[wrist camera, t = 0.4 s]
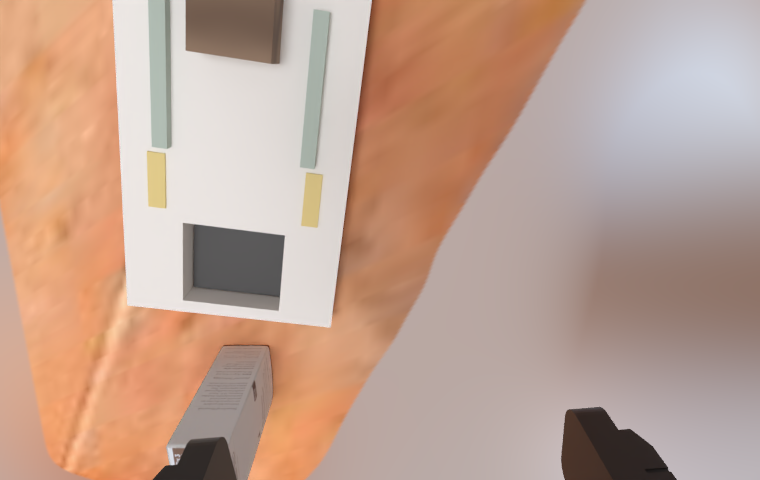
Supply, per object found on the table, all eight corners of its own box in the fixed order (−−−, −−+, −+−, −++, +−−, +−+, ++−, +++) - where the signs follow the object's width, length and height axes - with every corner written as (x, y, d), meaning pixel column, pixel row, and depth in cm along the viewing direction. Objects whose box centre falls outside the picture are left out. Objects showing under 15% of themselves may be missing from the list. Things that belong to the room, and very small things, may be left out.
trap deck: (128, -70, 30) (101, -85, 27) (375, -27, 31) (376, -36, 28) (141, 290, 39) (122, 310, 36) (332, 312, 40) (329, 332, 37)
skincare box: (274, 398, 43) (243, 516, 32) (226, 399, 43) (177, 518, 32) (269, 341, 41) (233, 447, 30) (218, 342, 41) (162, 449, 30)
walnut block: (203, -36, 28) (185, -46, 26) (285, -22, 29) (276, -31, 26) (201, 51, 30) (185, 50, 27) (279, 63, 31) (270, 63, 28)
